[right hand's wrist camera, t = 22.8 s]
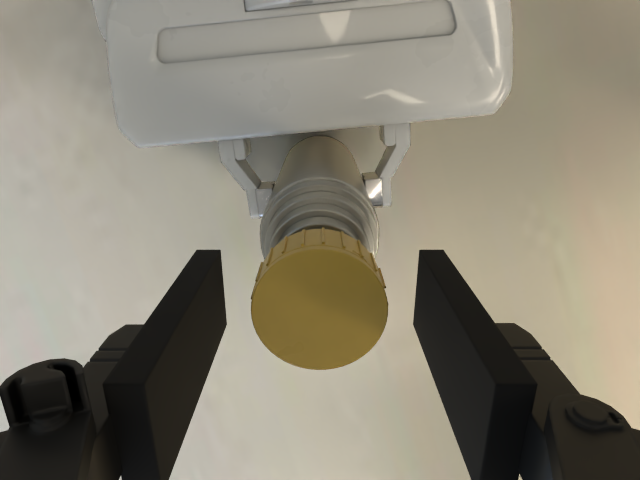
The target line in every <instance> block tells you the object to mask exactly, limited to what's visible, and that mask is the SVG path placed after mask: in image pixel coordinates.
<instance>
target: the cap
mask: <svg viewBox="0 0 640 480" xmlns="http://www.w3.org/2000/svg"><path fill="white" fill-rule="evenodd" d="M255 281H256V283H255V286H254V289H253V293H252V296H251V299H252V302H251V316H252V321H253V325H254V328H255V330H256V333H257V335H258V336H259V338H260V340H261V341H262V343H263V344H264V345H265V346H266V347H267V348H268V349H269V350H270V351H271V352H272V353H273V354H274V355H276V356H277V357H278V358H280V359H282V360H283V361H285V362H287V363H289V364H292V365H294V366H298V367H301V368H306V369H314V370H326V369H334V368H338V367H342V366H345V365H347V364H350V363H352V362H354V361H356V360H358V359H359V358H361V357H362V356H364V355H365V354H366V353H367V352H368V351H370V350H371V349H372V347H373V346H374V345H375V344H376V343H377V341H378V340H379V338H380V337H381V335H382V333H383V331H384V328H385V325H386V322H387V316H388V302H387V297H386V293H385V290H384V288H386V286H385V283H384V279H383V276H382V273H381V270H380V268H378V267H377V264H376V262H375V259H374V256H373V253H372V252H371V253H370V252H369V251H368V250H367V249H366V248H365V247H364V246H363V245H362V244H361V242H360V240H358V241H357V240H356V239H354V238H352V237H350V236H349V235H347V234H344V232H343V231H341V232H339V231H334V230H329V229H325V228H323V227H322V229H310V230H305V229H303V230H302V231H301V232H297V233H295V234H293V235H290V236H289V237H287V236H285V237H284V239H283V240H282V241H281V242H279V243H278V244H277V245H276V246H275V247H274V248H272V247H271V249H270V252H269V254H268V255H267V257H266V258H265V260H264V262H261V264H260V268H259V271H258V274H257V277H256V280H255Z"/></svg>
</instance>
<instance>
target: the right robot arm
mask: <svg viewBox="0 0 640 480" xmlns="http://www.w3.org/2000/svg"><path fill="white" fill-rule="evenodd" d="M226 325H227V321H226V309H225V298H224V286H223V274H222V262H221V250H196V252H195V253H194V255H193V256H192V257H191V259H190V260H189V262H188V263H187V264H186V266H185V267H184V269H183V270H182V272H181V273H180V274H179V276H178V277H177V279H176V280H175V282H174V283H173V284H172V286H171V287H170V289H169V290H168V291H167V293H166V294H165V296H164V297H163V299H162V300H161V301H160V303H159V304H158V306H157V307H156V308H155V310H154V311H153V313H152V314H151V316H150V317H149V318H148V320H147V321H146V323H145V324H144V325H125V326H123V327H122V328H120V329H118V330H117V331H115V332H114V333H112V334H111V335H109V336H108V338H107V339H106V340H105V341H104V343H103V344H102V345H101V346H100V347H99V351H96V352H95V354H94V355H93V356H92V357H91V359H90V362H87V364H86V365H85V366H84V367H82V365H81V364H79V363H78V362H77V361H75V360H70V359H65V358H64V359H50V360H46V361H42V362H38V363H35V364H32V365H30V366H28V367H25V368H23V369H21V370H19V371H17V372H16V373H14V374H13V375H11V376H10V377H8V378H7V379H6V380H5V381H4V382H3V383H2V385H1V386H0V397H1V400H2V403H3V407H4V410H5V413H6V416H7V420H8V423H9V426H10V427H9V430H7V431H3V432H0V480H119V478H120V476H121V477H122V480H169V477H170V475H171V472H172V469H173V467H174V464H175V461H176V459H177V456H178V453H179V451H180V448H181V445H182V443H183V440H184V437H185V435H186V432H187V429H188V427H189V424H190V421H191V419H192V416H193V413H194V411H195V408H196V405H197V403H198V400H199V397H200V394H201V392H202V389H203V386H204V384H205V381H206V378H207V376H208V373H209V370H210V368H211V365H212V362H213V360H214V357H215V354H216V352H217V349H218V346H219V344H220V341H221V338H222V336H223V333H224V330H225V328H226ZM413 325H414V328H415V330H416V333H417V336H418V338H419V341H420V344H421V346H422V349H423V352H424V354H425V357H426V360H427V362H428V365H429V368H430V370H431V373H432V376H433V378H434V381H435V384H436V386H437V389H438V392H439V394H440V397H441V400H442V403H443V405H444V408H445V411H446V413H447V416H448V419H449V421H450V424H451V427H452V429H453V432H454V435H455V437H456V440H457V443H458V445H459V448H460V451H461V453H462V456H463V459H464V461H465V464H466V467H467V469H468V472H469V475H470V477H471V480H518V477H519V473H520V475H521V477H522V479H523V480H640V430H636V429H633V428H631V426H630V425H629V424H628V422H627V421H626V419H625V418H624V417H623V416H622V415H621V414H620V413H619V412H617V411H616V410H615V409H614V408H612V407H611V406H609V405H607V404H605V403H603V402H601V401H599V400H597V399H594V398H591V397H588V396H584V395H580V393H579V392H578V391H577V390H576V389H575V387H574V386H573V385H572V384H571V382H570V381H569V380H568V379H567V378H566V376H565V375H564V374H563V373H562V371H561V370H560V369H559V368H558V366H557V365H556V364H555V363H554V362H553V360H550V357H549V355H548V354H547V353H546V352H545V351H544V349H542V347H541V346H540V344H539V343H538V342H537V341H536V339H535V338H534V337H533V336H532V335H531V334H530V333H529V332H527V331H526V330H524V329H522V328H521V327H519V326H518V325H516V324H515V323H494V321H493V320H492V318H491V317H490V316H489V314H488V313H487V311H486V310H485V308H484V307H483V306H482V304H481V303H480V301H479V300H478V299H477V297H476V296H475V294H474V293H473V291H472V290H471V289H470V287H469V286H468V284H467V283H466V282H465V280H464V279H463V277H462V276H461V274H460V273H459V272H458V270H457V269H456V267H455V266H454V264H453V263H452V262H451V260H450V259H449V257H448V256H447V255H446V253H445V252H444V250H419V262H418V274H417V286H416V297H415V309H414V321H413Z"/></svg>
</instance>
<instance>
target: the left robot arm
mask: <svg viewBox="0 0 640 480" xmlns="http://www.w3.org/2000/svg"><path fill="white" fill-rule="evenodd" d="M92 3H93V7H94V12H95V16H96V20H97V24H98V28H99V30H100V32H101V35H102V36H103V38H104V40H105V41H106V45H107V59H108V70H109V79H110V87H111V94H112V100H113V106H114V111H115V117H116V121H117V125H118V128H119V130H120V132H121V133H122V134H123V135H124V136H125V137H126V138H127V139H128V140H129V141H130V142H132V143H133V144H134V145H135V146H136V147H138V148H149V147H159V146H170V145H180V144H191V143H201V142H212V141H218V147H219V153H220V158H221V163H222V164H223V165H224V166H225V168H226V169H227V170H228V171H229V172H230V174H231V175H232V176H233V177H234V179H235V180H236V181H237V182H238V184H239V185H240V186H241V187H242V188H243V190H246V192H247V198H248V204H249V211H250V216H251V218H252V219H255V218H262V216H263V213H264V211H265V208H266V206H267V203H268V201H269V198H270V196H271V193H272V191H273V189H274V186H275V181H272V182H262V181H261V180H260V179H259V177H258V176H257V175H256V173H255V172H254V171H253V169H252V168H251V166H250V165H249V164H248V162H247V161H246V160H245V158H246V157H247V156H248V155H249V154H250V152H251V144H250V138H254V137H265V136H275V135H286V134H296V133H307V132H317V131H328V130H339V129H349V128H360V127H370V126H379V134H380V140H381V141H382V142H383V143H384V144H385V145H386V146H387V148H386V150H385V152H384V154H383V156H382V158H381V160H380V162H379V164H378V167H377V169H376V172H369V173H362V180H363V183H364V185H365V188H366V190H367V193H368V195H369V198H370V200H371V202H372V205H373V207H374V208H379V207H391V204H392V195H391V177H393V176H394V174H395V172H396V170H397V169H398V167H399V165H400V163H401V161H402V159H403V158H404V156H405V154H406V152H407V150H408V148H409V147H410V123H412V122H423V121H433V120H444V119H455V118H465V117H476V116H486V115H492V114H494V113H496V112H497V111H498V109H499V108H500V107H501V105H502V104H503V103H504V101H505V100H506V98H507V97H508V96H509V94H510V92H511V87H512V78H513V24H512V10H511V0H92Z"/></svg>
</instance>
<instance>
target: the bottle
mask: <svg viewBox="0 0 640 480" xmlns="http://www.w3.org/2000/svg"><path fill="white" fill-rule="evenodd" d="M322 227H323V228H325V229H329V230H334V231H339V232H341V231H343V232H344V234H347V235H349V236H350V237H352V238H354V239H356V240H357V241H358V240H360V242H361V244H362V245H363V246H364V247H365V248H366V249H367V250H368V251H369V252H370V253H371V252H372V253H373V256H374V259H375V258H376V254H377V251H378V245H379V223H378V219H377V215H376V212H375V210H374V207H373V205H372V202H371V200H370V198H369V195H368V193H367V190H366V188H365V185H364V183H363V180H362V178H361V175H360V173H359V170H358V168H357V165H356V163H355V160H354V158H353V156H352V154H351V152H350V151H349V150H348V149H347V147H346V146H345V145H343V144H342V143H341V142H339V141H338V140H336V139H333V138H331V137H326V136H313V137H309V138H306V139H304V140H302V141H300V142H299V143H297V144H296V145H295V146H294V147H293V148H292V149H291V150H290V152H289V153H288V155H287V157H286V159H285V162H284V164H283V167H282V169H281V171H280V174H279V176H278V179H277V181H276V184H275V186H274V189H273V191H272V193H271V196H270V198H269V201H268V203H267V206H266V208H265V211H264V213H263V216H262V219H261V225H260V241H261V249H262V253H263V257H264V259H265V258H266V257H267V255H268V254H269V252H270V249H271V247H272V248H274V247H275V246H276V245H277V244H278V243H279V242H281V241H282V240H283V239H284V237H285V236H287V237H289V236H290V235H293V234H295V233H297V232H301V231H302V230H303V229H305V230H310V229H322Z"/></svg>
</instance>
